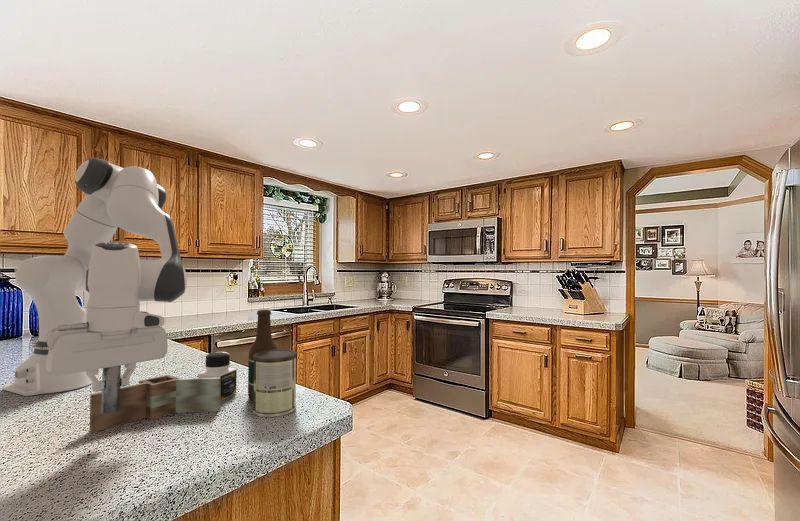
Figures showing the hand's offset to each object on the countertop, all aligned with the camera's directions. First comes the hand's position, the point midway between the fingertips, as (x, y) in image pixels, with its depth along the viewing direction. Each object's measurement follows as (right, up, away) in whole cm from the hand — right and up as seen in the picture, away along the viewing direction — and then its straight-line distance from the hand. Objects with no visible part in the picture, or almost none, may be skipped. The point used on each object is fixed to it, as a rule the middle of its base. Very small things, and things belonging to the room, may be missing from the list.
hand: (111, 388), depth 80 cm
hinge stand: (+2, -11, +11) cm, 16 cm away
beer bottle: (+22, -12, +27) cm, 36 cm away
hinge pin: (0, -5, 0) cm, 5 cm away
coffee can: (+28, -11, +18) cm, 35 cm away
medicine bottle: (+9, -12, +28) cm, 31 cm away
